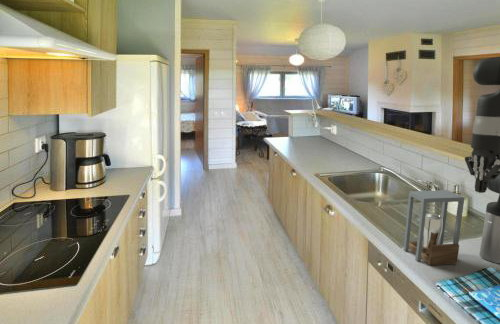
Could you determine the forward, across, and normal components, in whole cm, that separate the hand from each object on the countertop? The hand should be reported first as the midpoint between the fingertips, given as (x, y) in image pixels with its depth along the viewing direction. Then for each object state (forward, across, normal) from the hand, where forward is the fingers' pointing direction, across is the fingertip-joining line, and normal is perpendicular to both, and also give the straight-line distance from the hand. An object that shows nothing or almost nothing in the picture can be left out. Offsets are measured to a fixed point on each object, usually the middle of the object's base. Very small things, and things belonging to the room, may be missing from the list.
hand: (480, 191), depth 97 cm
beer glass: (+31, -22, +2) cm, 39 cm away
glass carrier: (+31, -21, +3) cm, 38 cm away
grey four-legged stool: (+31, -22, +3) cm, 38 cm away
